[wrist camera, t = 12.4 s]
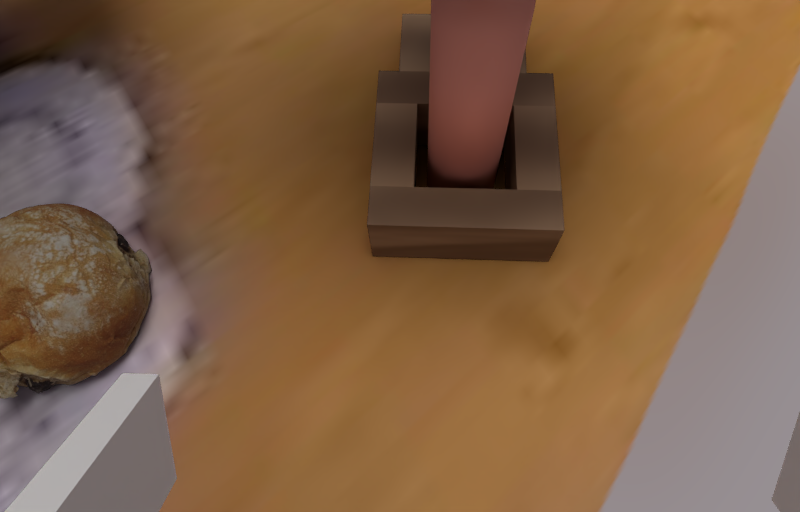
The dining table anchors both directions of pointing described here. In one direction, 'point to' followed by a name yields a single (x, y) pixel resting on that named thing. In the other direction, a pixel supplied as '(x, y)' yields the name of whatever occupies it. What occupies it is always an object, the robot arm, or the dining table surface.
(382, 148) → the awning socket
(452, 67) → the peg
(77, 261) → the bread roll
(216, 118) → the dining table surface
